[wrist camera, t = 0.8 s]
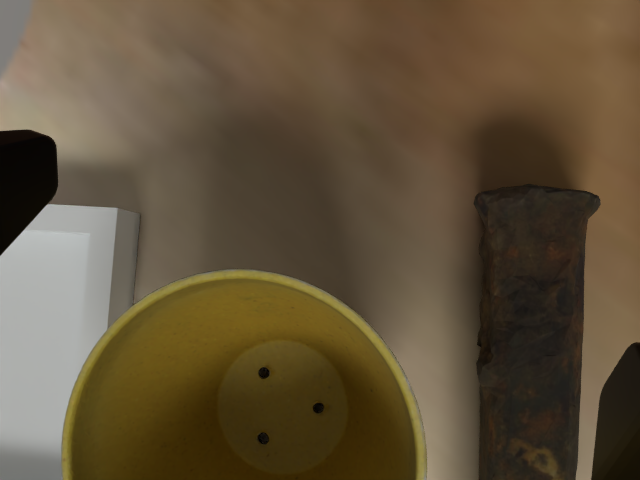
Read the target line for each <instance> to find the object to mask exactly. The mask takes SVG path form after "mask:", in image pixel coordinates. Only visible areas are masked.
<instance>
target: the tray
mask: <svg viewBox="0 0 640 480" xmlns="http://www.w3.org/2000/svg"><path fill="white" fill-rule="evenodd" d="M139 225H140V214H139V213H135V212H132V211H128V210H124V209H120V208H110V207H91V206H73V205H55V204H47V205H46V206H45V208H44V209H43V210H42V211H41V212H40V213H39V214H38V215H37V216H36V217H35V219H34V220H33V221H32V222H31V223H30V224H29V225H28V226H27V227H26V228H25V230H24V231H23V232H22V233H21V234H20V235H19V236H18V237H17V238H16V239H15V240H14V242H13V243H12V244H11V245H10V246H9V247H8V248H7V249H6V250H5V251H4V253H3V254H2V255H1V256H0V480H62V469H61V443H62V432H63V424H64V419H65V414H66V410H67V406H68V402H69V398H70V395H71V392H72V389H73V387H74V384H75V382H76V380H77V377H78V375H79V373H80V371H81V369H82V366H83V364H84V363H85V361H86V359H87V357H88V355H89V354H90V352H91V351H92V349H93V347H94V346H95V345H96V343H97V342H98V341H99V339H100V338H101V337H102V335H103V334H104V333H105V332H106V330H107V329H108V328H109V327H110V326H111V325H112V324H113V323H114V322H115V321H116V320H117V319H118V318H119V317H120V316H121V315H122V314H123V313H124V312H126V311H127V310H128V309H129V308H130V307H131V306H133V296H134V284H135V273H136V261H137V249H138V237H139Z"/></svg>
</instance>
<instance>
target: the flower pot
mask: <svg viewBox="0 0 640 480" xmlns="http://www.w3.org/2000/svg"><path fill="white" fill-rule="evenodd" d="M262 367H266V368H267V369H268V370H269V376H268V377H267V378H265V379H262V378H261V377H260V376H259V370H260V369H261V368H262ZM316 403H322V404H323V405H324V409H323V411H322V412H321V413H316V412H315V411H314V410H313V406H314V405H315V404H316ZM263 432H264V433H266V434H267V435H268V437H269V441H268V443H267V444H262V443H260V442H259V440H258V435H259V434H260V433H263ZM61 469H62V480H426V478H427V452H426V442H425V433H424V428H423V422H422V418H421V414H420V410H419V407H418V403H417V400H416V398H415V396H414V393H413V390H412V388H411V386H410V383H409V381H408V379H407V377H406V375H405V373H404V371H403V369H402V367H401V366H400V364H399V362H398V361H397V359H396V357H395V356H394V354H393V353H392V351H391V350H390V348H389V347H388V346H387V344H386V343H385V342H384V341H383V339H382V338H381V337H380V336H379V334H378V333H377V332H376V331H375V330H374V329H373V328H372V327H371V326H370V325H369V324H368V323H367V322H366V321H365V320H364V319H363V318H362V317H361V316H360V315H359V314H357V313H356V312H355V311H354V310H353V309H351V308H350V307H349V306H347V305H346V304H345V303H343V302H342V301H341V300H339V299H338V298H336V297H334V296H333V295H331V294H329V293H327V292H326V291H324V290H322V289H320V288H318V287H316V286H314V285H311V284H309V283H307V282H305V281H302V280H299V279H296V278H293V277H290V276H286V275H282V274H278V273H273V272H267V271H261V270H252V269H225V270H217V271H209V272H204V273H200V274H196V275H193V276H189V277H186V278H183V279H180V280H177V281H174V282H172V283H170V284H168V285H166V286H164V287H162V288H160V289H157V290H156V291H154V292H153V293H150V294H148V295H147V296H145V297H144V298H143V299H141V300H140V301H138V302H137V303H135V304H134V305H133V306H131V307H130V308H129V309H128V310H127V311H126V312H124V313H123V314H122V315H121V316H120V317H119V318H118V319H117V320H116V321H115V322H114V323H113V324H112V325H111V326H110V327H109V328H108V329H107V330H106V332H105V333H104V334H103V335H102V337H101V338H100V339H99V341H98V342H97V343H96V345H95V346H94V347H93V349H92V351H91V352H90V354H89V355H88V357H87V359H86V361H85V363H84V364H83V366H82V369H81V371H80V373H79V375H78V377H77V380H76V382H75V384H74V387H73V389H72V392H71V395H70V398H69V402H68V406H67V410H66V414H65V419H64V424H63V432H62V443H61Z"/></svg>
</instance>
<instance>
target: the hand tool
mask: <svg viewBox="0 0 640 480" xmlns="http://www.w3.org/2000/svg"><path fill="white" fill-rule="evenodd" d="M474 205H475V207H476V209H477V210H478V213H479V215H480V217H481V219H482V220H483V222H484V224H485V230H484V233H483V236H482V238H481V242H480V245H479V254H480V256H481V257H482V259H483V260H484V262H485V269H484V275H483V283H482V299H481V302H480V319H481V328H480V331H479V333H478V342H477V345H478V346H480V347H481V350H480V355H479V358H478V360H477V363H476V364H477V374H478V378H479V382H480V401H481V404H480V448H479V480H575V479H576V470H577V461H578V435H579V412H580V394H581V367H582V342H583V322H584V262H585V240H586V229H587V222H588V219H589V218H590V217H591V216H592V215H593V214H594V213H595V212H596V211H597V210H598V208H599V206H600V199H599V196H597V195H594V194H592V193H590V192H587V191H581V190H571V189H561V188H553V187H545V186H538V185H532V184H527V185H523V186H516V187H507V188H504V187H502V188H499V189H497V190H492V191H485V192H481V193H478V194H477V195H476V197H475V201H474Z"/></svg>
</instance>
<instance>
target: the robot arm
mask: <svg viewBox="0 0 640 480" xmlns="http://www.w3.org/2000/svg"><path fill="white" fill-rule="evenodd" d="M57 187H58V170H57V148H56V144H55V142H54V140H53V139H52V138H51V137H49V136H47V135H44V134H41V133H38V132H35V131H32V130H11V131H0V256H1V255H2V254H3V253H4V251H5V250H6V249H7V248H8V247H9V246H10V245H11V244H12V243H13V242H14V240H15V239H16V238H17V237H18V236H19V235H20V234H21V233H22V232H23V231H24V230H25V228H26V227H27V226H28V225H29V224H30V223H31V222H32V221H33V220H34V219H35V217H36V216H37V215H38V214H39V213H40V212H41V211H42V210H43V209H44V208H45V206H46V205H47V204H48V203H49V202H50V201H51V200H52V199H53V197H54V195H55V194H56V191H57ZM591 480H640V343H639V342H636V343H633V344H631V345H630V346H629V347H628V348H627V350H626V351H625V353H624V354H623V356H622V357H621V359H620V360H619V362H618V364H617V365H616V367H615V368H614V370H613V372H612V373H611V375H610V376H609V378H608V379H607V381H606V383H605V384H604V387H603V389H602V392H601V395H600V400H599V410H598V419H597V429H596V439H595V448H594V458H593V468H592V478H591Z"/></svg>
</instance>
